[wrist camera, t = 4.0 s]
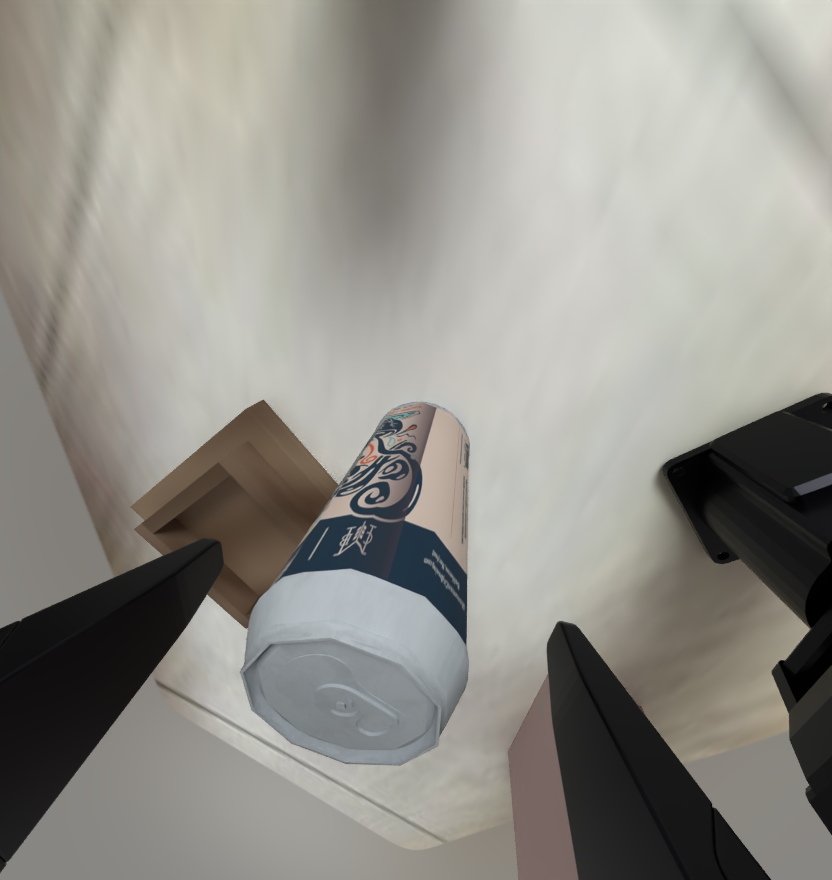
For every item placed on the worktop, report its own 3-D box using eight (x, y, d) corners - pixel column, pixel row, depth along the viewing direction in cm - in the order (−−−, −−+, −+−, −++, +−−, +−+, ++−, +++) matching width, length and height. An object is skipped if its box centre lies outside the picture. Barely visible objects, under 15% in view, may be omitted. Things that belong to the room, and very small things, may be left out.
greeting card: (515, 757, 27) (560, 1220, 14) (451, 709, 26) (430, 1169, 12) (649, 713, 23) (910, 1332, 9) (580, 652, 21) (766, 1272, 8)
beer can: (413, 378, 16) (289, 570, 5) (490, 439, 17) (528, 725, 6) (358, 447, 18) (185, 695, 7) (429, 500, 18) (371, 799, 8)
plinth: (392, 546, 20) (379, 586, 17) (272, 606, 24) (247, 646, 21) (263, 399, 17) (225, 419, 15) (151, 493, 21) (105, 522, 19)
